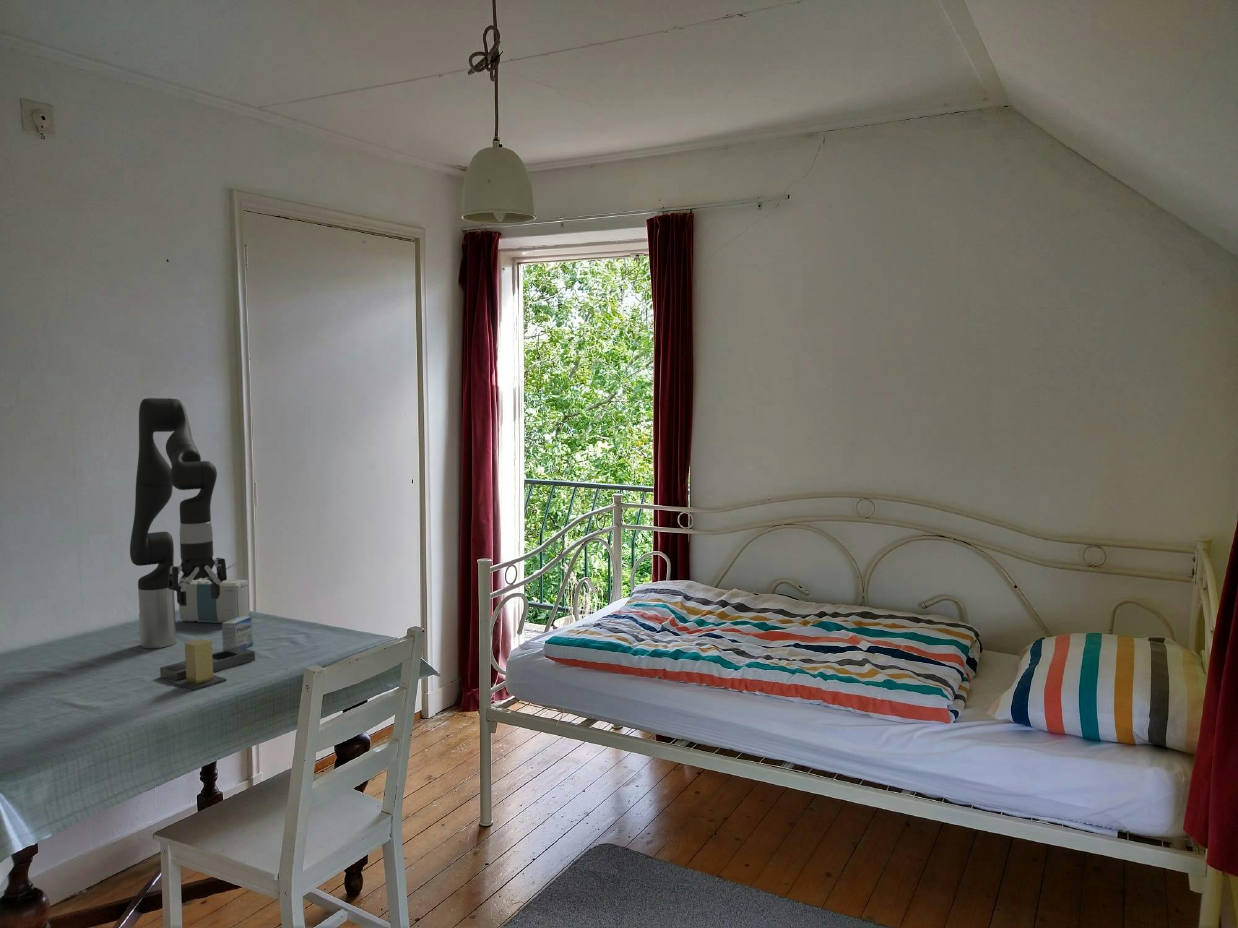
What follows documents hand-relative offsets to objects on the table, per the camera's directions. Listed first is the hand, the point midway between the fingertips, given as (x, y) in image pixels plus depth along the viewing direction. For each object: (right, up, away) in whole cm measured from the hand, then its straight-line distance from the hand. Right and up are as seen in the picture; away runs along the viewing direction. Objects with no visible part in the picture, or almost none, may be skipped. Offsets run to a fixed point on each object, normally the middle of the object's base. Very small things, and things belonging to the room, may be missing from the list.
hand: (199, 601), depth 222 cm
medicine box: (-2, -18, +29) cm, 34 cm away
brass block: (+1, -20, -1) cm, 20 cm away
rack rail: (-2, -20, +11) cm, 22 cm away
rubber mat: (+1, -20, -1) cm, 20 cm away
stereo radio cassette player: (-24, -16, +60) cm, 67 cm away
